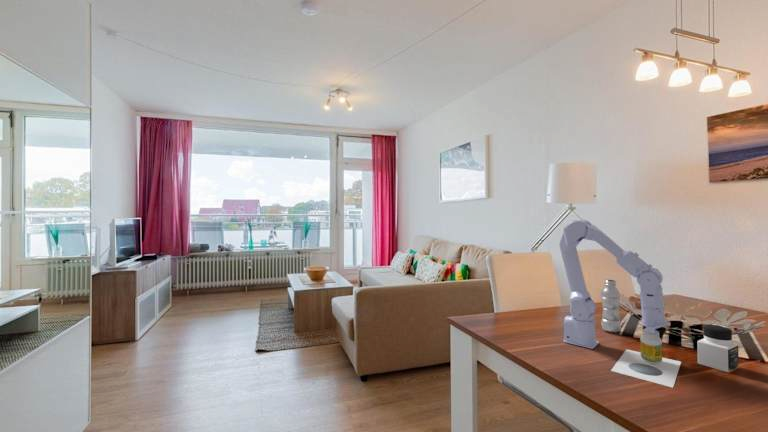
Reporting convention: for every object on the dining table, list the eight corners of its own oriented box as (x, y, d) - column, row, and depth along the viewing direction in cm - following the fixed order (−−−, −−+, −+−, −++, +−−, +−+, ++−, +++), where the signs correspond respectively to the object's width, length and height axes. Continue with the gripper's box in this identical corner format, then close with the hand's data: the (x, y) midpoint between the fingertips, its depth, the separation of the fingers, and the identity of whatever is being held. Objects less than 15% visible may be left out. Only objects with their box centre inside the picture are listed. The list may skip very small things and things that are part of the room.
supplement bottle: (645, 350, 109) (645, 324, 107) (665, 358, 104) (665, 331, 102) (637, 358, 106) (636, 331, 104) (657, 366, 102) (657, 339, 100)
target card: (610, 372, 99) (610, 370, 99) (626, 350, 114) (626, 349, 114) (673, 389, 89) (673, 387, 89) (681, 362, 104) (681, 361, 104)
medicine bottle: (729, 373, 97) (728, 331, 97) (697, 363, 103) (696, 324, 103) (739, 367, 100) (738, 327, 100) (707, 358, 106) (707, 321, 106)
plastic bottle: (603, 333, 130) (602, 281, 130) (599, 327, 136) (598, 278, 136) (623, 335, 128) (622, 282, 128) (618, 329, 134) (617, 279, 134)
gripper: (666, 314, 99) (670, 360, 98) (671, 303, 109) (674, 346, 108) (636, 310, 104) (640, 355, 103) (644, 301, 114) (647, 341, 113)
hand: (656, 350), depth 106 cm, fingers closed, pressing on supplement bottle
